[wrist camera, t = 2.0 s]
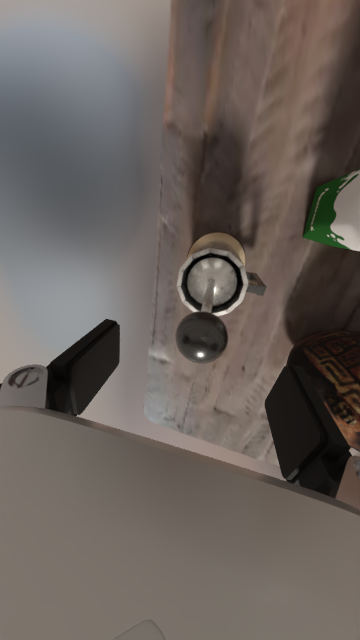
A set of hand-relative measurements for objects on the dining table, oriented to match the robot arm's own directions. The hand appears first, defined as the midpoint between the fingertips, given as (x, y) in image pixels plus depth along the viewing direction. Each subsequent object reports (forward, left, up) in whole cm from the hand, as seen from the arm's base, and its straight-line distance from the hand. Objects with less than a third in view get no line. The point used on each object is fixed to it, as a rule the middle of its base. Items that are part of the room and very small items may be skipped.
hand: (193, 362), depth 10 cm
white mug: (0, +2, -29) cm, 29 cm away
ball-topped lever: (0, 0, -16) cm, 16 cm away
